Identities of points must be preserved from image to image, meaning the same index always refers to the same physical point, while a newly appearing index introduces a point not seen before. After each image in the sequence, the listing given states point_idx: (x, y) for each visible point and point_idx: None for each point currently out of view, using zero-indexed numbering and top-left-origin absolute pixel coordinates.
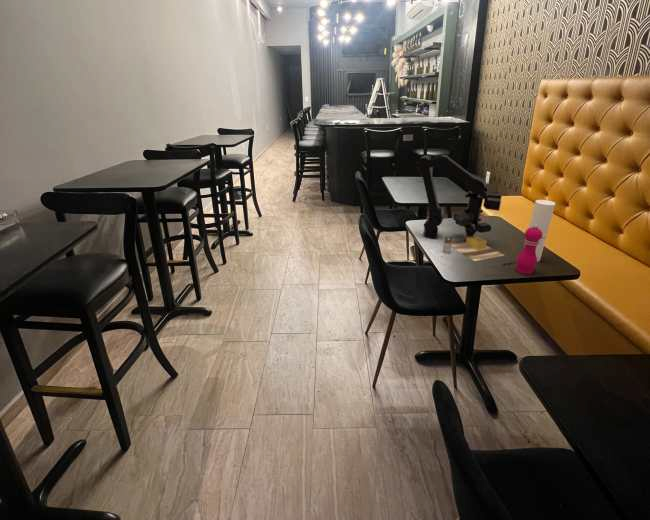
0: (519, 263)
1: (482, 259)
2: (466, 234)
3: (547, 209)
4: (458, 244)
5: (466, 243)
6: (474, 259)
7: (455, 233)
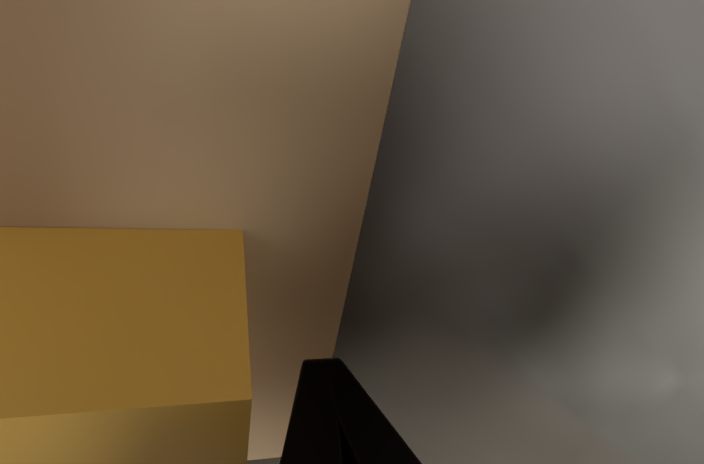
0: None
1: None
2: (405, 454)
3: None
4: (301, 21)
5: (223, 243)
6: None
7: (669, 359)
